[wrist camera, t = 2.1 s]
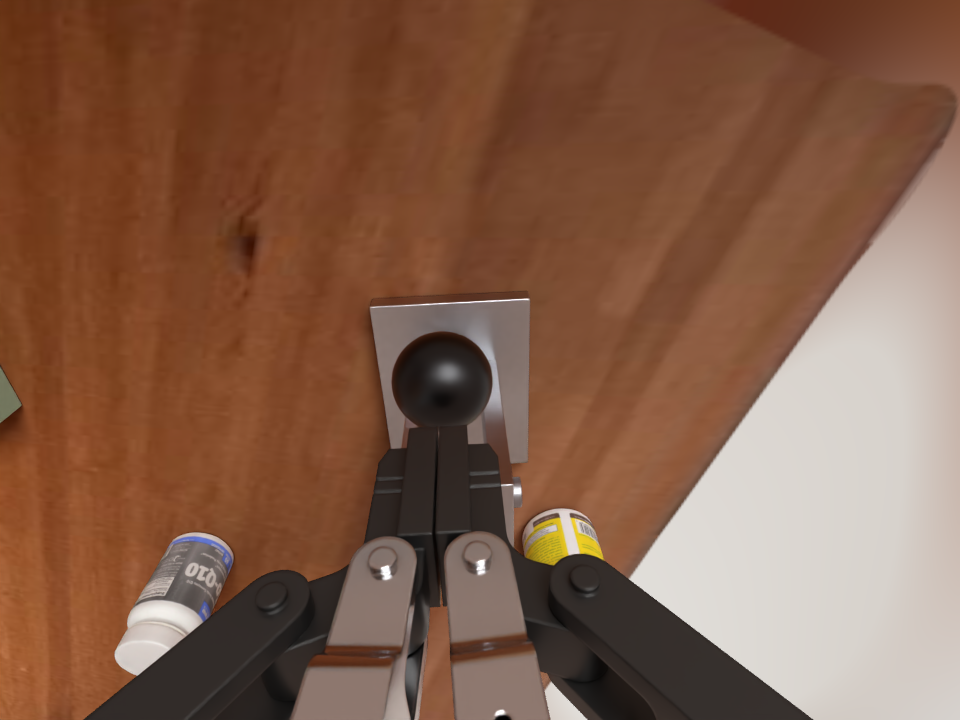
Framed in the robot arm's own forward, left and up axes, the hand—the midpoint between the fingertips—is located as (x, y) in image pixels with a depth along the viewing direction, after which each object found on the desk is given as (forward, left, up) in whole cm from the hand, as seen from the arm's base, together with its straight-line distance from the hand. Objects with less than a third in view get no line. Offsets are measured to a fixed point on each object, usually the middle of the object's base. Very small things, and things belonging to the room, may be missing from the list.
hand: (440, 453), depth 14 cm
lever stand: (+9, 0, -18) cm, 20 cm away
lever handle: (+4, 0, -7) cm, 8 cm away
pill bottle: (+23, -20, -18) cm, 35 cm away
